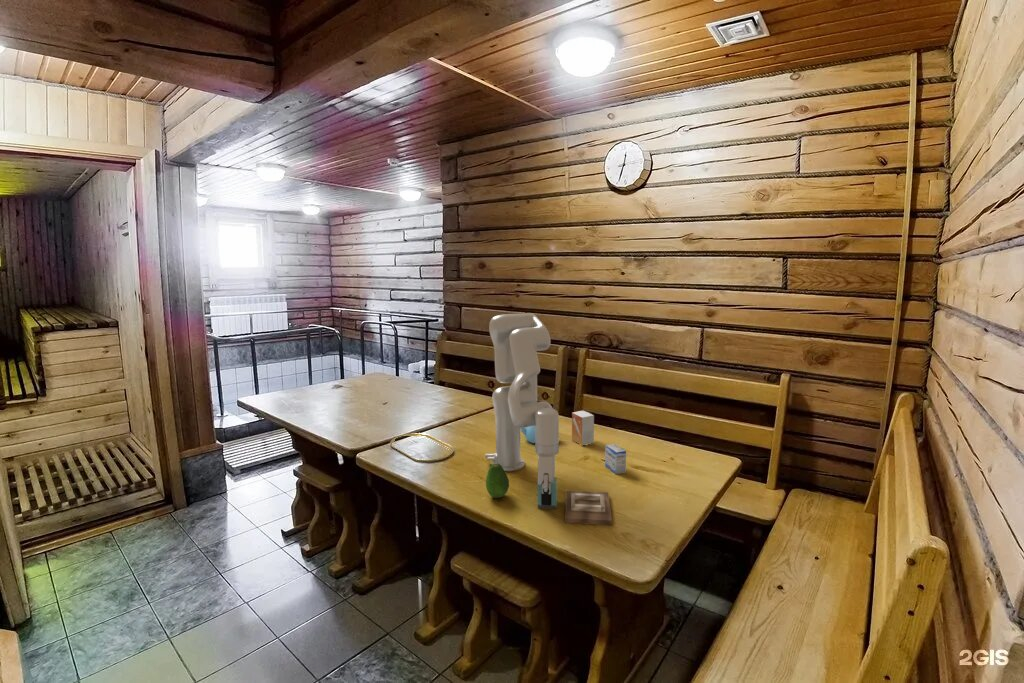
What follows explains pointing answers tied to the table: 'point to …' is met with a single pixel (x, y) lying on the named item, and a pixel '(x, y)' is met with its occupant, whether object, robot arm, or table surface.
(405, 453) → the serving platter
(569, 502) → the socket block
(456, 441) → the table surface
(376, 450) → the table surface
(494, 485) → the avocado
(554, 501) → the plug
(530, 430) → the teapot
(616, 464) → the medicine box
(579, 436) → the small box
